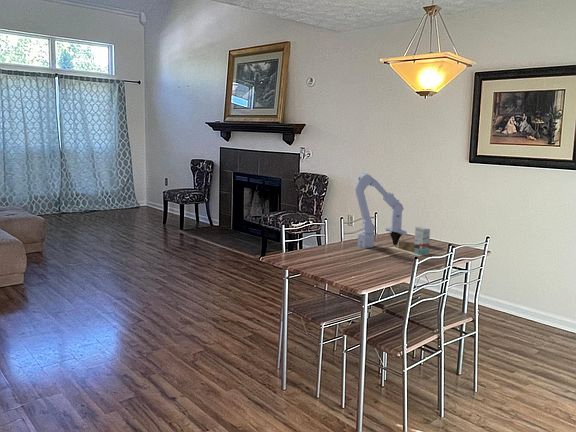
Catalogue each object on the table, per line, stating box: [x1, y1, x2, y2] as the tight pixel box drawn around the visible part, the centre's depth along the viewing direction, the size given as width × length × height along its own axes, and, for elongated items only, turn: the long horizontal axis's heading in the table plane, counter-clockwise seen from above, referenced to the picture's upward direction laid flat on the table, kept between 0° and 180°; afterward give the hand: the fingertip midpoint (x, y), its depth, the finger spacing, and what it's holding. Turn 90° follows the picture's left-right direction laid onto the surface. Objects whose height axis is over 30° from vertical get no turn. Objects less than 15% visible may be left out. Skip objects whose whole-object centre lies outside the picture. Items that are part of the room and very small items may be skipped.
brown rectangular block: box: [398, 240, 421, 252], centre depth 292 cm, size 12×4×4 cm, turn 36°
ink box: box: [413, 226, 431, 248], centre depth 305 cm, size 9×5×12 cm, turn 22°
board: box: [388, 245, 433, 257], centre depth 291 cm, size 13×23×1 cm, turn 36°
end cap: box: [414, 247, 430, 256], centre depth 284 cm, size 8×4×3 cm, turn 126°
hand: (395, 244), depth 300 cm, fingers closed
